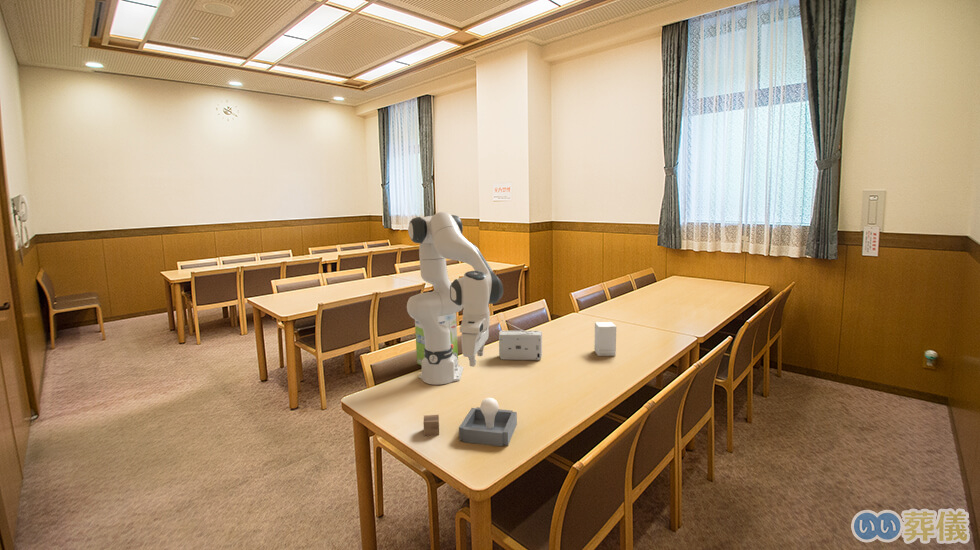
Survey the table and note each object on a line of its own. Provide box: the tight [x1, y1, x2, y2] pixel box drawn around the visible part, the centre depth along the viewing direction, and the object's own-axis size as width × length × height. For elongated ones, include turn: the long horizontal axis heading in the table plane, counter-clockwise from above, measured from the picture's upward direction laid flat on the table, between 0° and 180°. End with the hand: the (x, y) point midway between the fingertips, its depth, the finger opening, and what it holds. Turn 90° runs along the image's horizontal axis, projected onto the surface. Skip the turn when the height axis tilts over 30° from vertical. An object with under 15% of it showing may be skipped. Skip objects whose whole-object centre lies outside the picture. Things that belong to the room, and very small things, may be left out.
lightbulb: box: [480, 397, 500, 429], centre depth 157 cm, size 6×6×11 cm
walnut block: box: [422, 414, 440, 437], centre depth 157 cm, size 5×5×5 cm
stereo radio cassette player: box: [498, 320, 543, 361], centre depth 227 cm, size 21×8×20 cm, turn 84°
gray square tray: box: [458, 406, 518, 447], centre depth 156 cm, size 16×16×4 cm
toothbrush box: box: [414, 312, 459, 367], centre depth 222 cm, size 18×10×24 cm, turn 130°
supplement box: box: [593, 321, 617, 357], centre depth 232 cm, size 9×9×15 cm
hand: (476, 360), depth 156 cm, fingers open, 8 cm apart
